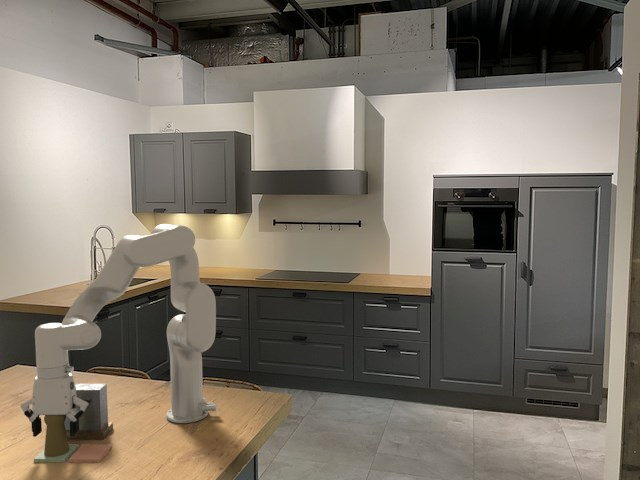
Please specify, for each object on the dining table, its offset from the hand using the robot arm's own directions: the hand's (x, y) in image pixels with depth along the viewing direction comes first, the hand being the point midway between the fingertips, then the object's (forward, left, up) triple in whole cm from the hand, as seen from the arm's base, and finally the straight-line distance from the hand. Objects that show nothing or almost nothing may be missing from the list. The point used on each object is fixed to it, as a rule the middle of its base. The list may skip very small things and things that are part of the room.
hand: (55, 434), depth 142 cm
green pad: (0, 0, -6) cm, 6 cm away
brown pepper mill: (0, 0, -5) cm, 5 cm away
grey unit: (-3, -12, -6) cm, 13 cm away
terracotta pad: (-9, 0, -6) cm, 11 cm away
